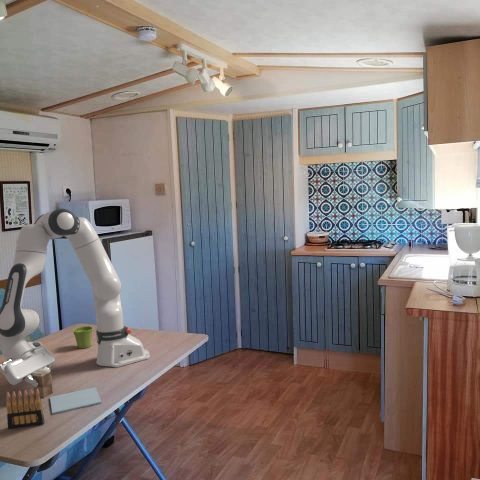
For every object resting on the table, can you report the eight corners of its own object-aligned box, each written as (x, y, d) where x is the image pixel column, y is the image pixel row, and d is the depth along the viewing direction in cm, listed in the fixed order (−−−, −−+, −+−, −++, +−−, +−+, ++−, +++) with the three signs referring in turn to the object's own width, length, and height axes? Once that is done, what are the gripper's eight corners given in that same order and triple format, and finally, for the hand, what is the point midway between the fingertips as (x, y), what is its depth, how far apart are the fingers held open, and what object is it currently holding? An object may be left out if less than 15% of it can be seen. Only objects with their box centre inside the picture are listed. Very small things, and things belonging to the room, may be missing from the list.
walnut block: (43, 391, 184) (40, 368, 183) (52, 392, 183) (50, 369, 182) (34, 396, 180) (31, 372, 179) (44, 397, 179) (41, 373, 177)
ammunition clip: (7, 429, 156) (3, 393, 155) (9, 426, 158) (5, 391, 157) (43, 424, 158) (39, 389, 157) (44, 422, 160) (40, 386, 158)
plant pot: (70, 347, 234) (69, 329, 233) (89, 342, 240) (87, 324, 239) (79, 351, 227) (77, 333, 226) (98, 346, 234) (96, 328, 233)
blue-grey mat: (95, 388, 184) (95, 387, 184) (101, 403, 171) (101, 401, 171) (50, 398, 178) (49, 396, 178) (52, 414, 165) (52, 412, 165)
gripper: (1, 359, 172) (26, 388, 170) (43, 340, 191) (66, 366, 189) (-7, 370, 174) (17, 399, 172) (36, 350, 193) (58, 376, 191)
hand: (43, 382), depth 181 cm, fingers closed on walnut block, 4 cm apart
